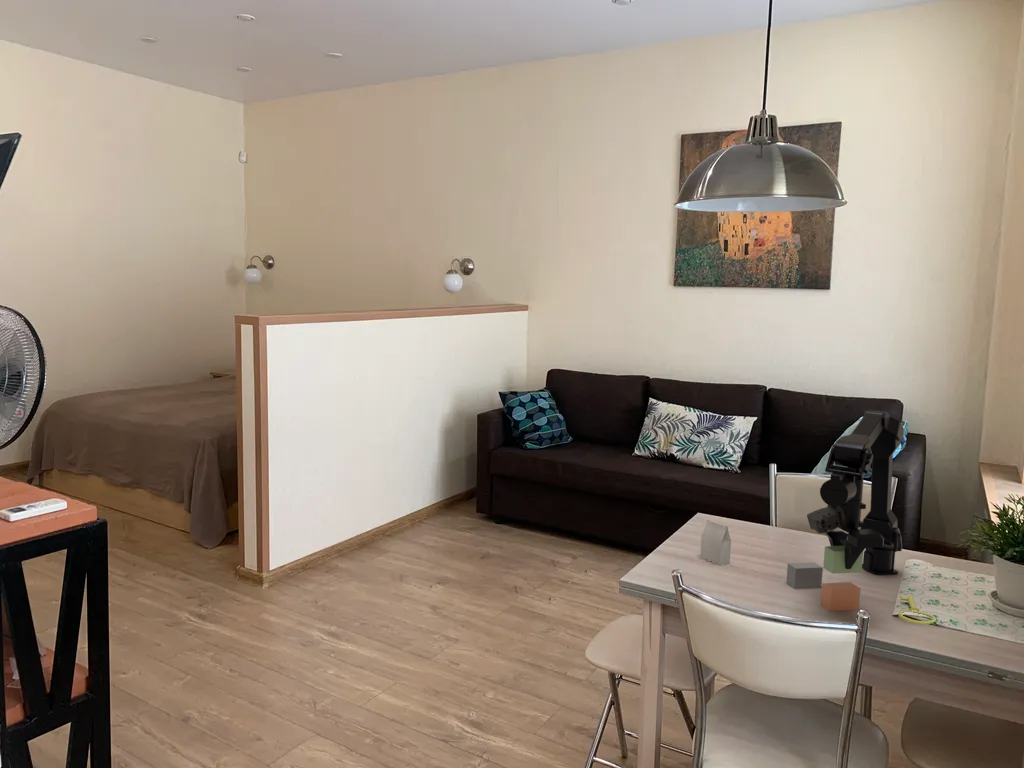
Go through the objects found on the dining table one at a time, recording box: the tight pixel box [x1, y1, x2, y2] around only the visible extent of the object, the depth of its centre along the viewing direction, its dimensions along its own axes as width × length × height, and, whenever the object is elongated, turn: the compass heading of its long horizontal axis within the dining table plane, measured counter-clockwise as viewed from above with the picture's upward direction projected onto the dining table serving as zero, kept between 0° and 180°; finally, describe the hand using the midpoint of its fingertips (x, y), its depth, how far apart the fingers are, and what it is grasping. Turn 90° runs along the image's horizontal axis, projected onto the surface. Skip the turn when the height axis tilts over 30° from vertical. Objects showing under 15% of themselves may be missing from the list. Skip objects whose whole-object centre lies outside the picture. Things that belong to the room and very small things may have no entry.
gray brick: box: [786, 561, 824, 589], centre depth 184 cm, size 7×4×5 cm, turn 100°
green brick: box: [822, 545, 864, 575], centre depth 171 cm, size 7×4×5 cm, turn 100°
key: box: [898, 595, 937, 626], centre depth 169 cm, size 7×12×2 cm, turn 0°
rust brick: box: [820, 581, 861, 612], centre depth 172 cm, size 7×4×5 cm, turn 100°
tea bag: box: [699, 519, 732, 566], centre depth 200 cm, size 4×7×10 cm, turn 32°
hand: (842, 565), depth 171 cm, fingers closed on green brick, 4 cm apart
